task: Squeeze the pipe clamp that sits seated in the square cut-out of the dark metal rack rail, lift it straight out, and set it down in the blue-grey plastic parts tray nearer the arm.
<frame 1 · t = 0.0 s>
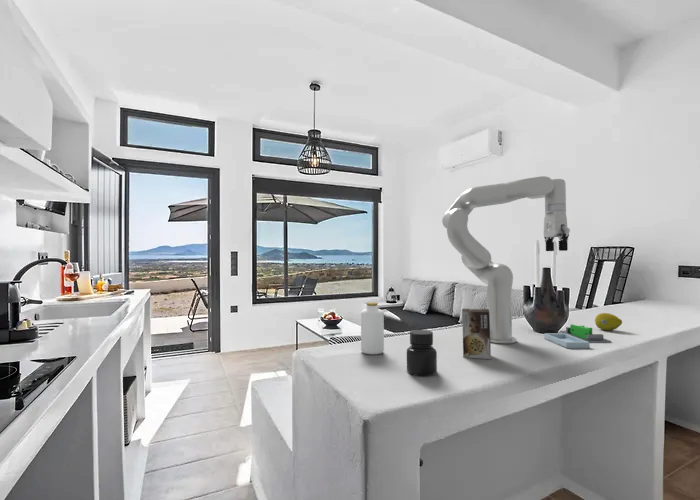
hand: (556, 250, 145), 37 cm above the countertop, tool pointing down, fingers open, 9 cm apart
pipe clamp: (583, 337, 150), resting in rack rail
ink bottle: (421, 372, 106), on the countertop
parts tray: (565, 343, 139), on the countertop
lemon: (607, 331, 163), on the countertop
white bottle: (372, 352, 128), on the countertop
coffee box: (476, 356, 123), on the countertop
rack rail: (583, 336, 150), on the countertop
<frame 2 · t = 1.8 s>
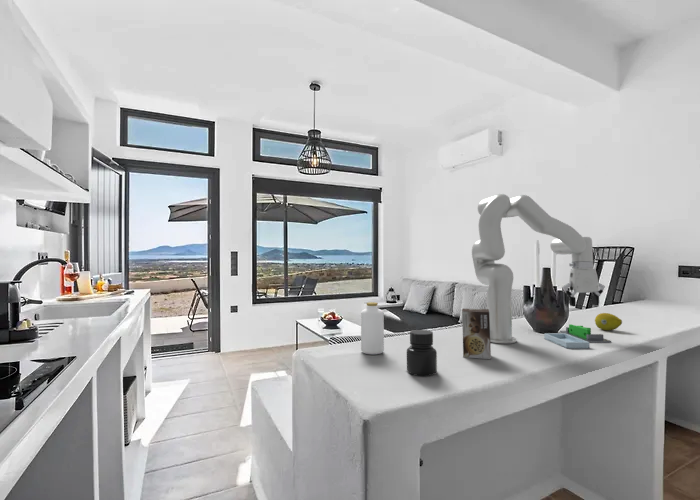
hand: (584, 305, 150), 13 cm above the countertop, tool pointing down, fingers open, 9 cm apart
nothing on the countertop moved.
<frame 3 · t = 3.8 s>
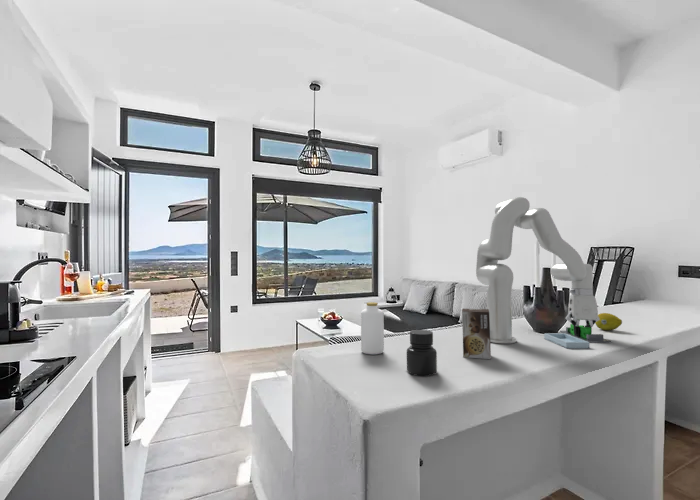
hand: (582, 335, 150), 1 cm above the countertop, tool pointing down, fingers closed on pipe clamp, 3 cm apart
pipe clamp: (582, 337, 150), resting in rack rail, touching gripper
everything else where it was.
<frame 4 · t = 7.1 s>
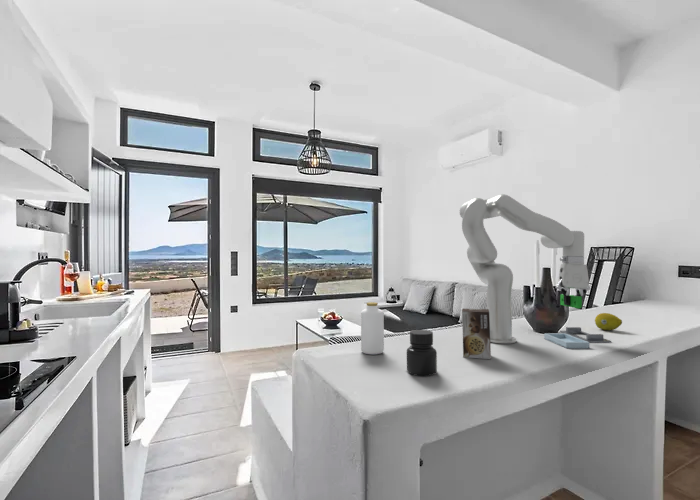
hand: (572, 304, 145), 14 cm above the countertop, tool pointing down, fingers closed on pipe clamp, 3 cm apart
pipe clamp: (572, 307, 145), point 13 cm above the countertop, touching gripper
everything else where it was.
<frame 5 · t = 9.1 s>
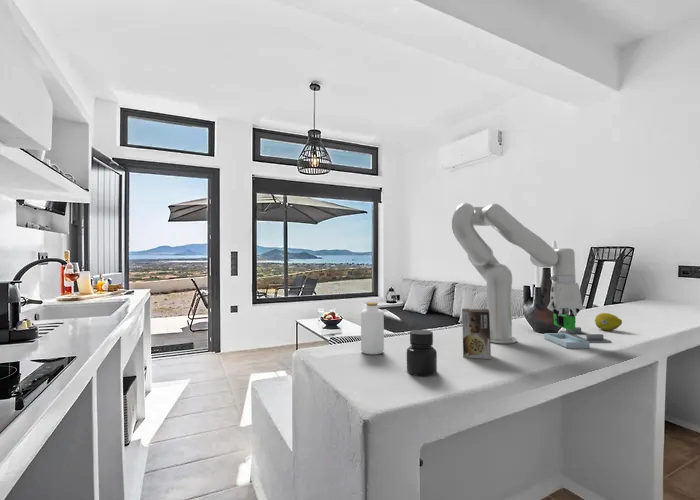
hand: (566, 325, 140), 7 cm above the countertop, tool pointing down, fingers closed on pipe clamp, 3 cm apart
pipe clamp: (566, 327, 139), point 6 cm above the countertop, touching gripper
everything else where it was.
when the fingers open (3 cm above the countertop, at t = 10.5 s): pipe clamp drops 2 cm, resting on parts tray.
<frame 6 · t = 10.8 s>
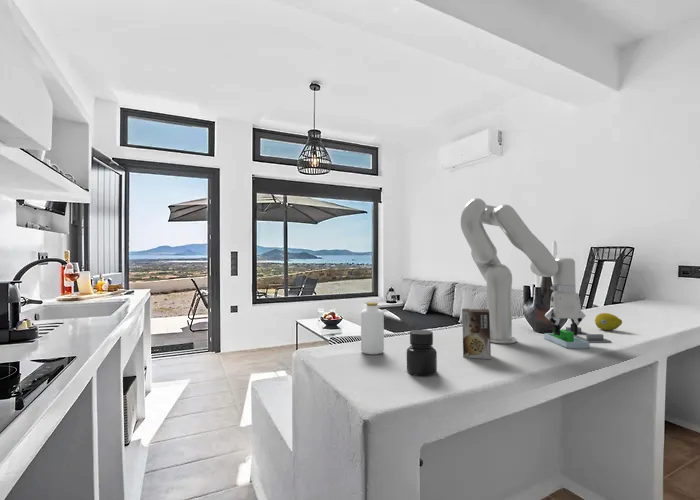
hand: (565, 334, 140), 4 cm above the countertop, tool pointing down, fingers open, 6 cm apart
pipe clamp: (565, 342, 139), resting on parts tray
everything else where it was.
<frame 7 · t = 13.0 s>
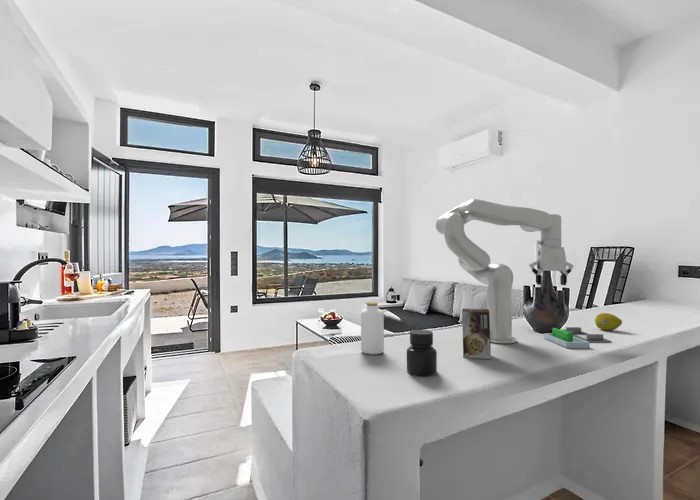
hand: (551, 284, 147), 23 cm above the countertop, tool pointing down, fingers open, 9 cm apart
nothing on the countertop moved.
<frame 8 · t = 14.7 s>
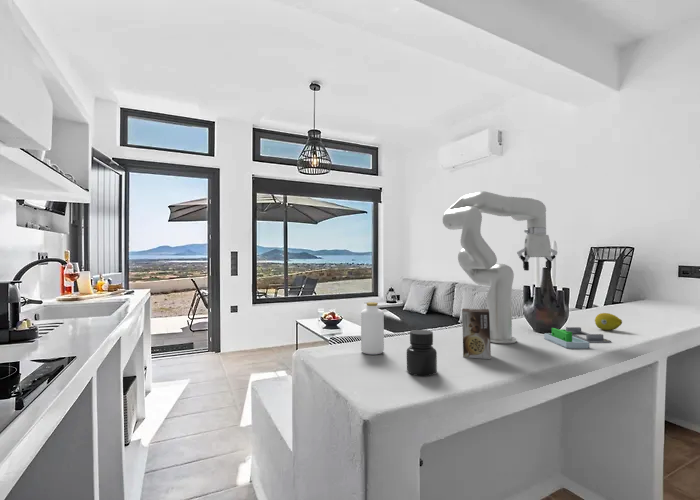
hand: (537, 270, 157), 28 cm above the countertop, tool pointing down, fingers open, 9 cm apart
nothing on the countertop moved.
at the end: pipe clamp inside the target area on the parts tray (0.9 cm from its centre), point 0.3 cm above the parts tray's base; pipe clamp moved 18.7 cm from its start; the gripper is holding nothing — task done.
